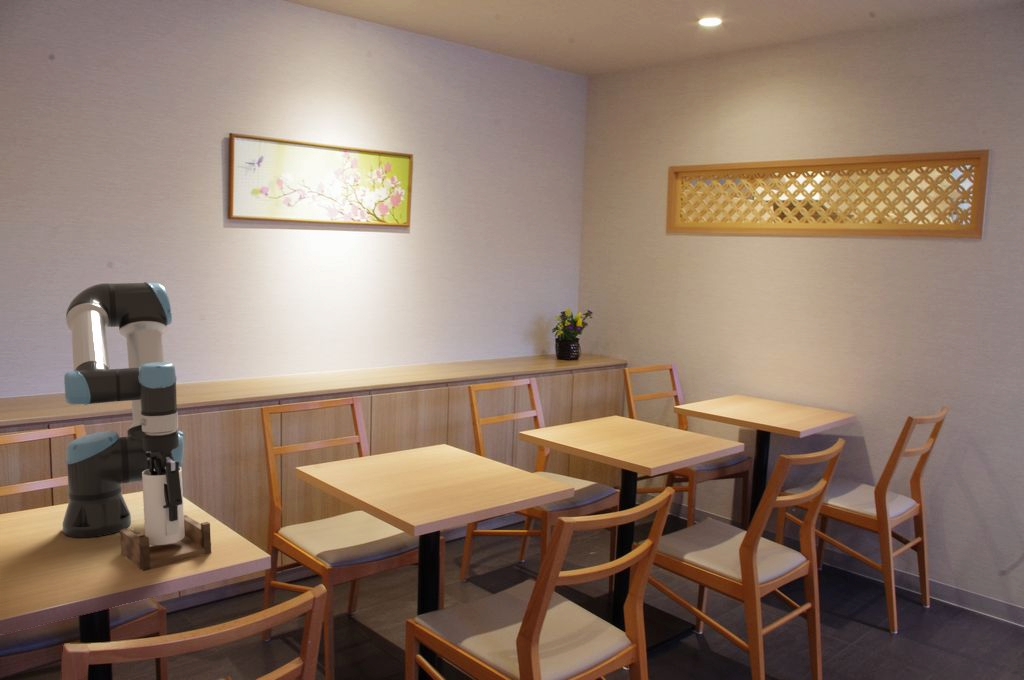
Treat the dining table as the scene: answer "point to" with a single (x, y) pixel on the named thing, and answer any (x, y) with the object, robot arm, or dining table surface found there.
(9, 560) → the dining table surface
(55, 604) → the dining table surface
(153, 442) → the robot arm
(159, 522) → the cup
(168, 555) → the tray
